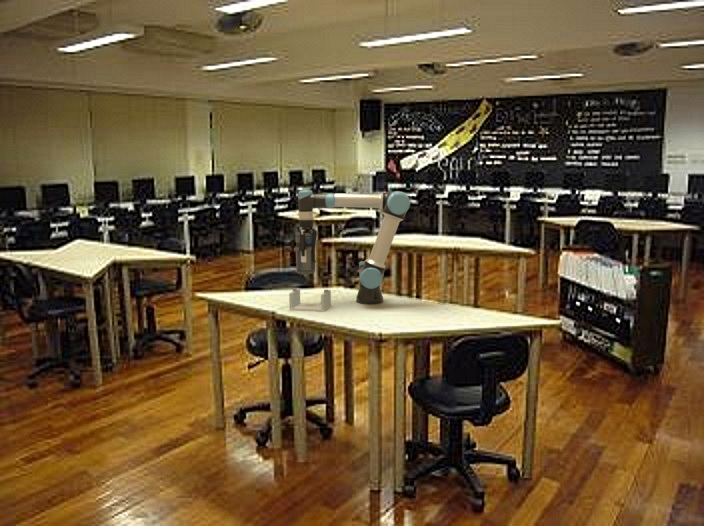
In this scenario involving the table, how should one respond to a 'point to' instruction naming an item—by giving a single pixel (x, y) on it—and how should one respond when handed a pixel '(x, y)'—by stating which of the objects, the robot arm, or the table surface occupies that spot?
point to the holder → (296, 305)
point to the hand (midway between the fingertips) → (307, 260)
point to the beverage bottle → (310, 241)
